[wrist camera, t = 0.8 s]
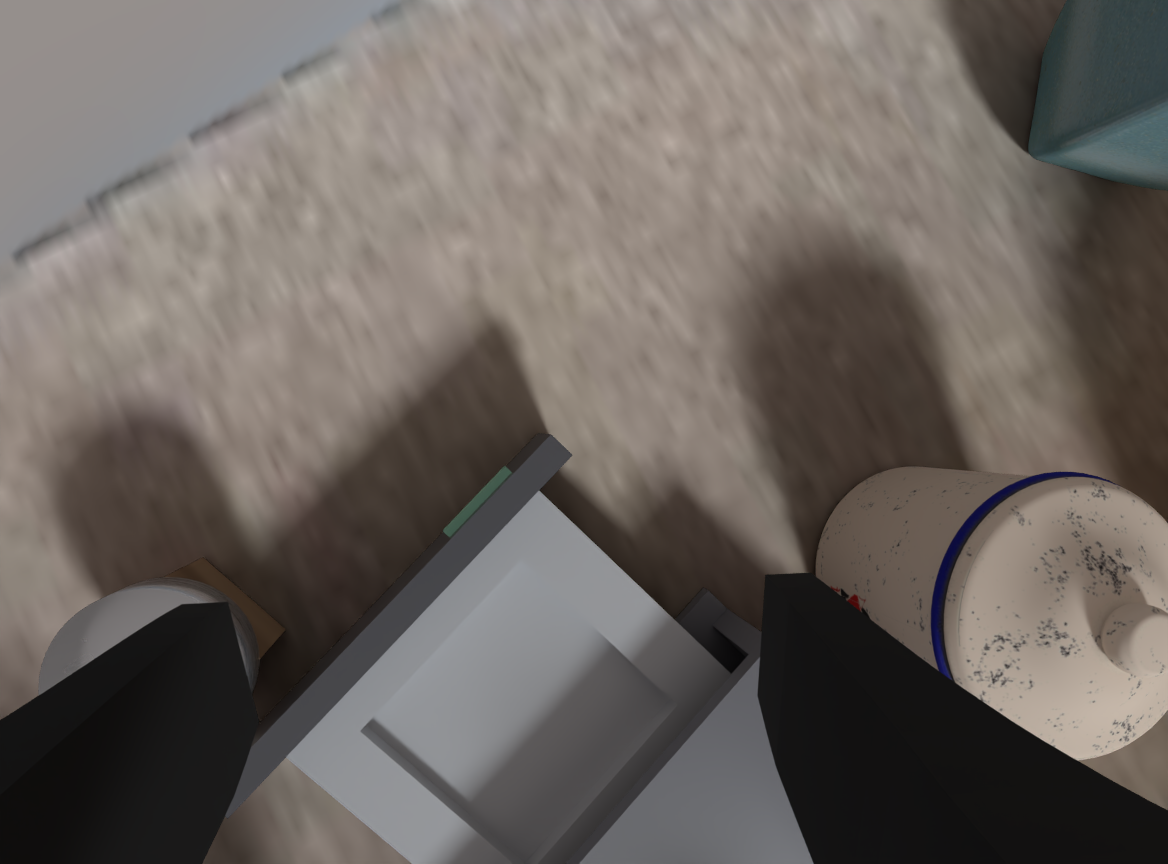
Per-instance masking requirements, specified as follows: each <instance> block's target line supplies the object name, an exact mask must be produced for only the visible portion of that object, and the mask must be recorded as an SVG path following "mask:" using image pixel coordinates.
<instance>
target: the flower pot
mask: <svg viewBox="0 0 1168 864" xmlns="http://www.w3.org/2000/svg"><path fill="white" fill-rule="evenodd" d="M1028 150H1029V154H1030V155H1031V156H1032V157H1033V158H1035V159H1037V160H1040V161H1044V162H1047V163H1051V164H1054V165H1058V166H1061V167H1065V168H1069V169H1073V170H1077V171H1080V172H1084V173H1087V174H1091V175H1094V176H1097V177H1100V178H1104V179H1108V180H1111V181H1115V182H1120V183H1125V184H1130V185H1135V186H1140V187H1145V188H1151V189H1158V190H1167V191H1168V0H1067V1H1066V3H1065V5H1064V7H1063V9H1062V11H1061V13H1060V15H1059V17H1058V19H1057V21H1056V23H1055V26H1054V28H1053V30H1052V33H1051V35H1050V37H1049V40H1048V42H1047V44H1046V47H1045V50H1044V52H1043V58H1042V64H1041V71H1040V78H1039V84H1038V91H1037V97H1036V103H1035V109H1034V115H1033V121H1032V126H1031V132H1030V138H1029V144H1028Z"/></svg>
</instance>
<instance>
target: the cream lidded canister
mask: <svg viewBox="0 0 1168 864" xmlns="http://www.w3.org/2000/svg"><path fill="white" fill-rule="evenodd" d="M816 577H817V578H818V579H820V580H821V581H823V582H824V583H825V584H826V585H828V586H829V587H830V588H832V589H833V590H834V591H835V592H837V593H838V594H839V595H840V596H842V597H843V598H844V599H846V600H847V601H848V602H849V603H851V604H852V605H853V606H854V607H856V608H857V609H858V610H859V611H861V612H862V613H863V614H865V615H866V616H867V617H868V618H870V619H871V620H872V621H873V622H875V623H876V624H877V625H879V626H880V627H881V628H882V629H884V630H885V631H886V632H888V633H889V634H890V635H891V636H893V637H894V638H895V639H897V640H898V641H899V642H901V643H902V644H903V645H905V646H906V647H907V648H908V649H910V650H911V651H912V652H914V653H915V654H916V655H918V656H919V657H920V658H922V659H923V660H925V661H926V662H927V663H929V664H930V665H931V666H933V667H934V668H935V669H937V670H938V671H940V672H941V673H942V674H944V675H945V676H947V677H948V678H949V679H951V680H952V681H954V682H955V683H956V684H958V685H959V686H961V687H962V688H964V689H965V690H967V691H968V692H970V693H971V694H973V695H974V696H976V697H977V698H978V699H980V700H981V701H983V702H984V703H986V704H987V705H989V706H990V707H992V708H993V709H995V710H996V711H998V712H999V713H1001V714H1002V715H1004V716H1005V717H1007V718H1008V719H1010V720H1011V721H1013V722H1014V723H1016V724H1017V725H1019V726H1021V727H1022V728H1024V729H1025V730H1027V731H1029V732H1030V733H1032V734H1033V735H1035V736H1037V737H1038V738H1040V739H1041V740H1043V741H1045V742H1046V743H1048V744H1050V745H1052V746H1053V747H1055V748H1057V749H1058V750H1060V751H1062V752H1064V753H1065V754H1067V755H1069V756H1070V757H1072V758H1074V759H1075V760H1083V759H1089V758H1094V757H1098V756H1102V755H1105V754H1108V753H1111V752H1113V751H1116V750H1118V749H1120V748H1122V747H1124V746H1126V745H1128V744H1130V743H1131V742H1133V741H1134V740H1136V739H1137V738H1139V737H1140V736H1142V735H1143V734H1144V733H1145V732H1146V731H1148V730H1149V729H1150V728H1151V727H1152V726H1153V725H1154V724H1155V723H1156V722H1157V721H1158V720H1159V719H1160V718H1161V717H1162V716H1163V715H1164V714H1165V712H1166V711H1167V710H1168V523H1167V522H1166V521H1165V519H1164V518H1163V517H1162V516H1161V515H1160V514H1159V513H1158V512H1157V511H1156V510H1155V509H1154V508H1153V507H1151V506H1150V505H1149V504H1148V503H1147V502H1145V501H1144V500H1143V499H1141V498H1140V497H1139V496H1137V495H1135V494H1134V493H1132V492H1131V491H1129V490H1127V489H1125V488H1123V487H1121V486H1119V485H1117V484H1115V483H1113V482H1111V481H1109V480H1106V479H1103V478H1100V477H1097V476H1093V475H1089V474H1084V473H1076V472H1052V473H1044V474H1039V475H1035V476H1023V475H1012V474H1000V473H988V472H977V471H965V470H953V469H942V468H930V467H918V466H909V467H899V468H894V469H889V470H886V471H883V472H880V473H878V474H876V475H873V476H871V477H869V478H868V479H866V480H864V481H863V482H861V483H860V484H858V485H857V486H856V487H854V488H853V489H852V490H851V491H850V492H849V493H848V494H847V495H846V496H845V497H844V498H843V499H842V500H841V501H840V502H839V504H838V505H837V506H836V508H835V509H834V511H833V512H832V514H831V515H830V517H829V519H828V521H827V523H826V525H825V527H824V530H823V532H822V535H821V538H820V542H819V545H818V550H817V557H816Z"/></svg>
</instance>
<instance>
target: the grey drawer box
mask: <svg viewBox="0 0 1168 864" xmlns="http://www.w3.org/2000/svg"><path fill="white" fill-rule="evenodd" d="M675 621H676V622H677V623H678V624H680V625H681V626H682V627H683V628H684V629H685V630H686V631H687V632H688V633H689V634H690V635H691V636H692V637H693V638H694V639H695V640H696V641H697V642H698V643H699V644H701V645H702V646H703V647H704V648H705V649H706V650H707V651H708V652H709V653H710V654H711V655H712V656H713V657H714V658H715V659H716V660H717V661H718V662H719V663H720V664H721V665H723V666H724V667H725V668H726V669H727V670H728V671H729V672H730V673H731V675H730V676H729V677H728V679H727V680H726V681H725V682H724V683H723V684H722V685H721V687H720V688H719V689H718V690H717V691H716V692H715V693H714V694H713V696H712V697H711V698H710V699H709V700H708V701H707V702H706V704H705V705H704V706H703V707H702V708H701V709H700V710H699V712H698V713H697V714H696V715H695V716H694V717H693V718H692V720H691V721H690V722H689V723H688V724H687V725H686V726H685V728H684V729H683V730H682V731H681V732H680V733H679V734H678V736H677V737H676V738H675V739H674V740H673V741H672V742H671V744H670V745H669V746H668V747H667V748H666V749H665V750H664V751H663V753H662V754H661V755H660V756H659V757H658V758H657V759H656V761H655V762H654V763H653V764H652V765H651V766H650V767H649V769H648V770H647V771H646V772H645V773H644V774H643V775H642V777H641V778H640V779H639V780H638V781H637V782H636V783H635V785H634V786H633V787H632V788H631V789H630V790H629V791H628V793H627V794H626V795H625V796H624V797H623V798H622V799H621V801H620V802H619V803H618V804H617V805H616V806H615V807H614V808H613V810H612V811H611V812H610V813H609V814H608V815H607V816H606V818H605V819H604V820H603V821H602V822H601V823H600V824H599V826H598V827H597V828H596V829H595V830H594V831H593V832H592V834H591V835H590V836H589V837H588V838H587V839H586V840H585V842H584V843H583V844H582V845H581V846H580V847H579V848H578V850H577V851H576V852H575V853H574V854H573V855H572V856H571V858H570V859H569V860H568V861H567V862H566V863H565V864H814V863H813V861H812V858H811V856H810V853H809V851H808V848H807V846H806V843H805V841H804V838H803V836H802V833H801V831H800V828H799V826H798V823H797V820H796V818H795V815H794V813H793V810H792V807H791V805H790V802H789V800H788V797H787V795H786V792H785V789H784V787H783V784H782V782H781V779H780V776H779V774H778V771H777V768H776V765H775V762H774V758H773V754H772V751H771V747H770V743H769V740H768V736H767V732H766V728H765V724H764V720H763V716H762V712H761V708H760V704H759V700H758V696H757V693H758V678H759V664H760V649H761V634H762V632H761V631H759V630H758V629H756V628H755V627H753V626H752V625H750V624H749V623H747V622H746V621H744V620H743V619H742V618H740V617H739V616H737V615H736V614H734V613H733V612H731V611H730V610H728V609H727V608H726V607H725V606H724V605H723V604H722V603H721V602H720V601H719V600H718V599H717V598H716V597H715V596H714V595H713V594H712V593H711V592H709V591H708V590H707V589H705V588H704V587H703V589H702V590H701V591H700V592H699V593H698V594H697V595H696V596H695V597H694V599H693V600H692V601H691V602H690V603H689V604H688V605H687V606H686V607H685V609H684V610H683V611H682V612H681V613H680V614H679V615H678V616H677V618H676V619H675Z"/></svg>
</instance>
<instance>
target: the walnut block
mask: <svg viewBox="0 0 1168 864" xmlns="http://www.w3.org/2000/svg"><path fill="white" fill-rule="evenodd" d="M165 577H179V578H186V579H192V580H195V581H199V582H202V583H205V584H207V585H210V586H212V587H214V588H216V589H217V590H219V591H221V592H223V593H224V594H225V595H227V596H228V597H229V598H231V599H232V600H233V601H234V602H235V603H236V604H237V605H238V606H239V607H240V608H241V610H242V611H243V612H244V614H245V615H246V616H247V618H248V620H249V622H250V623H251V625H252V627H253V630H254V632H255V635H256V638H257V643H258V647H259V657H260V658H261V657H262V656H263V655H264V654H265V653H266V652H267V650H268V649H269V648H270V647H271V646H272V645H273V644H274V642H275V641H276V640H277V639H278V638H279V637H280V636H281V634H282V633H283V632H284V631H285V630H286V629H285V628H284V627H283V626H281V625H280V624H279V623H278V622H277V621H276V620H275V619H273V618H272V617H271V616H270V615H269V614H268V613H266V612H265V611H264V610H263V609H262V608H261V607H260V606H258V605H257V604H256V603H255V602H254V601H253V600H252V599H250V598H249V597H248V596H247V595H246V594H245V593H244V592H242V591H241V590H240V589H239V588H238V587H237V586H235V585H234V584H233V583H232V582H231V581H230V580H229V579H227V578H226V577H225V576H224V575H223V574H222V573H221V572H219V571H218V570H217V569H216V568H215V567H214V566H213V565H211V564H210V563H209V562H208V561H207V560H206V559H204V558H201V559H199V560H197V561H195V562H193V563H191V564H189V565H187V566H185V567H183V568H181V569H179V570H177V571H175V572H173V573H171V574H169V575H167V576H165Z"/></svg>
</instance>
